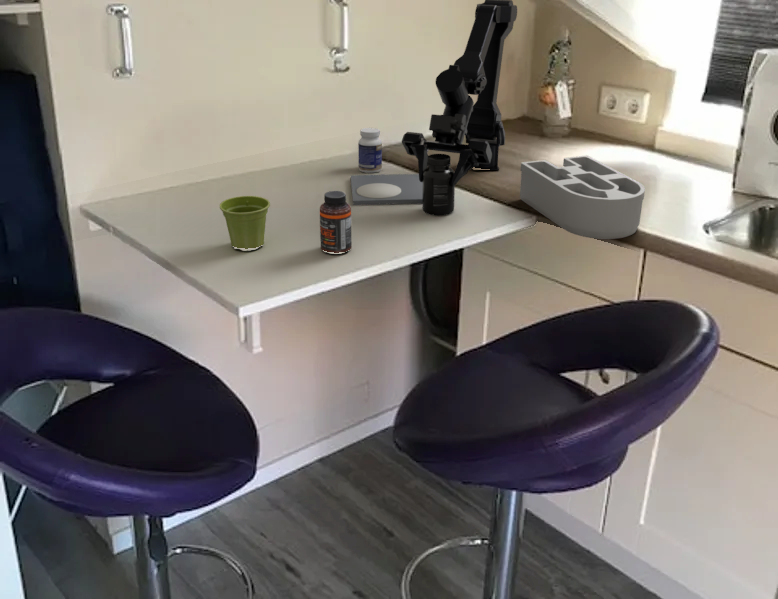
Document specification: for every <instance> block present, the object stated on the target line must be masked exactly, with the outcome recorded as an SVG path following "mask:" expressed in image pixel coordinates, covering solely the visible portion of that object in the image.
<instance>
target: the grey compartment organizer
mask: <svg viewBox="0 0 778 599" xmlns="http://www.w3.org/2000/svg"><path fill="white" fill-rule="evenodd" d="M520 173H521V174H520V185H519V186H520V187H519V188H520V189H519V198H520V200H521V201H522V202H524V203H526V205H528V206H529V207H531V208H533V209H534V210H536V211H537V212H538V213H540V214H542V215H543V216H544V217H545V218H547V219H549V220H550V221H551V222H553V223H554V224H556V225H557V226H559V227H560V228H561V229H563V230H565V231H566V232H568V233H570V234H573V235H576V236H580V237H584V238H590V239H598V240H612V239H613V240H616V239H622V238H623V239H624V238H626V237H629V236H631V235H633V234H635V233H636V232H637V231H638V229H639V225H640V222H641V215H642V209H643V208H642V207H643V201H644V199H645V193H646V188H645V185H643V183H641V182H640V181H638V180H635V179H634V178H633V177H632V178H631V177H630V176H628V175H626V174H624V173H622V172H620V171H619V170H616V169H615V168H613V167H611V166H609V165H607V164H605V163H603V162H601V161H599V160H597V159H596V158H593V157H592V156H589V155H587V154H586V155H577V156H570V157H563V162H562V166H557V165H555V164H553V163H551V162H550V161H548V160H546V159H542V160H532V161H522V162H520Z"/></svg>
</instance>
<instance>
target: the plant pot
mask: <svg viewBox="0 0 778 599" xmlns="http://www.w3.org/2000/svg"><path fill="white" fill-rule="evenodd" d="M270 206H271V203H270V201H269V199H267V198H265V197H262V196H256V195H242V196H233V197H231V198H227V199H225V200H223V201H221V203H220V204H219V209H220V210H221V211H222V215H223V217H224V219H225V222H226V226H227V231H228V235H229V239H230V243H231V247H232V246H234V247H237V248H245V249H248V248H256V247H259V246H261V245H263V244H264V245H265V232H266V221H267V214H268V211H269V210H268V209H269V207H270Z"/></svg>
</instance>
